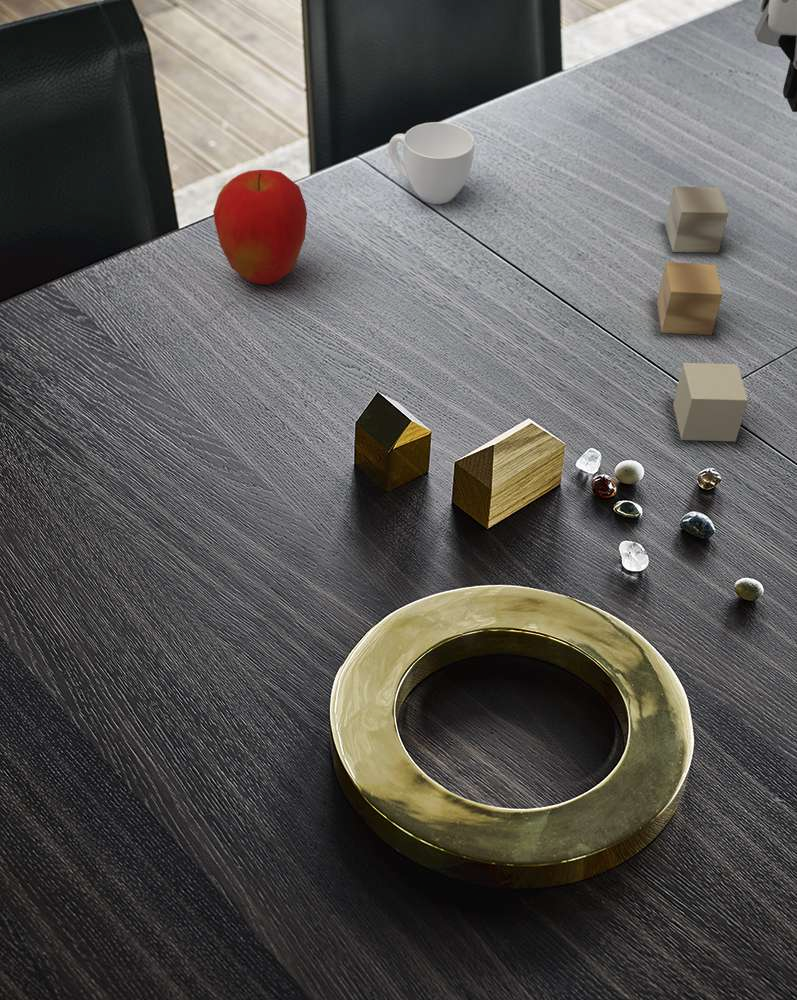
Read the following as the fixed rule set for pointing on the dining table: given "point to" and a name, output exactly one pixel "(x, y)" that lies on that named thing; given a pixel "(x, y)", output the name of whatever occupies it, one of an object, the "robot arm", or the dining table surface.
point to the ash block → (696, 219)
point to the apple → (261, 224)
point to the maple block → (689, 298)
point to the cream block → (710, 402)
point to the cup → (434, 159)
